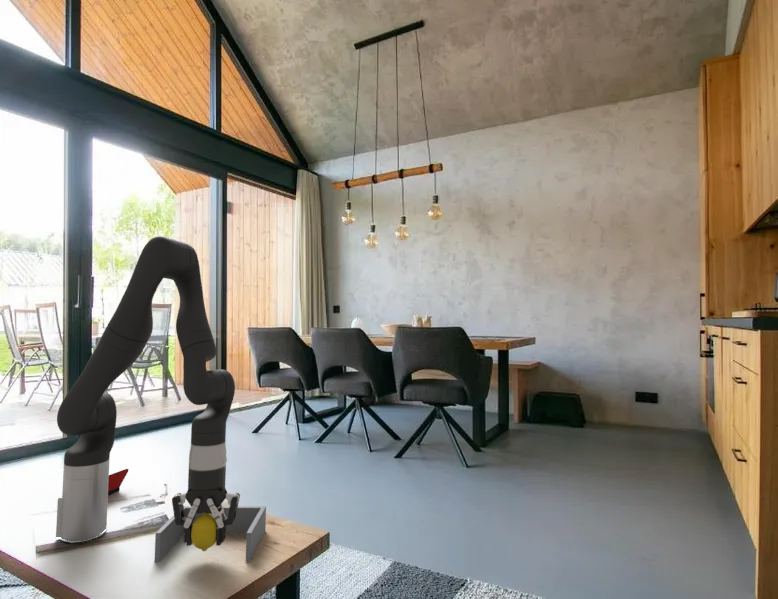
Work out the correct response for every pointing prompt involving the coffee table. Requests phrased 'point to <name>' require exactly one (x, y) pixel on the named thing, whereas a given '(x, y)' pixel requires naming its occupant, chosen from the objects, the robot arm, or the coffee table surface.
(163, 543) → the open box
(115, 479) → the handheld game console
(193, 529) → the lemon
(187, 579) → the coffee table surface
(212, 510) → the robot arm
